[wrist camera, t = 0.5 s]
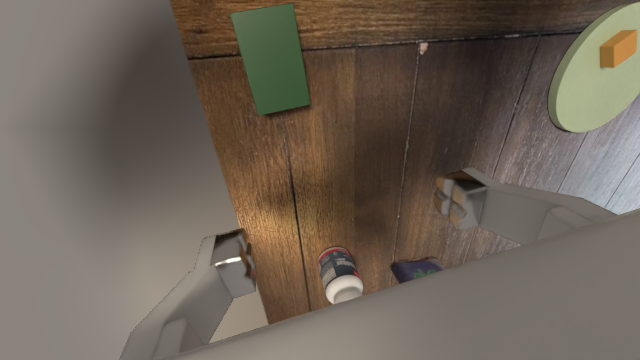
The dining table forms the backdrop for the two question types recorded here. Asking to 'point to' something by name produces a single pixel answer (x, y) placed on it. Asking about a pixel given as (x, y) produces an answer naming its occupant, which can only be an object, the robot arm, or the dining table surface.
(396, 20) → the dining table surface
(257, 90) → the sponge
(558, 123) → the plate
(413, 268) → the flask
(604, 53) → the orange square block
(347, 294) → the pill bottle
